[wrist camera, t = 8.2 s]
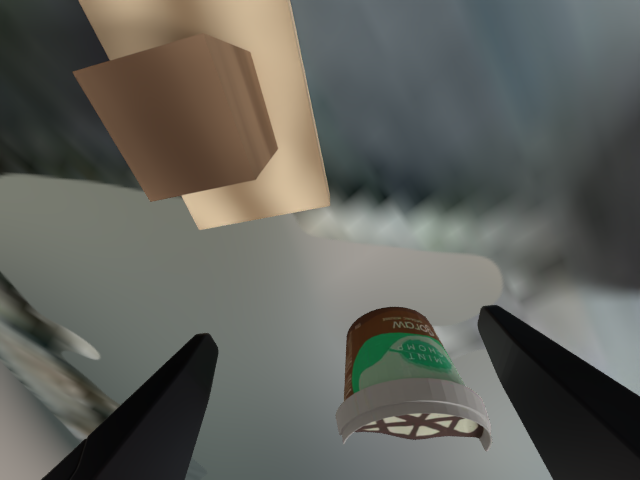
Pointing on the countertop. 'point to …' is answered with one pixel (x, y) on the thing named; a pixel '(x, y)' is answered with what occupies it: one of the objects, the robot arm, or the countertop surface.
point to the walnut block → (184, 115)
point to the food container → (405, 382)
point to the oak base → (275, 81)
